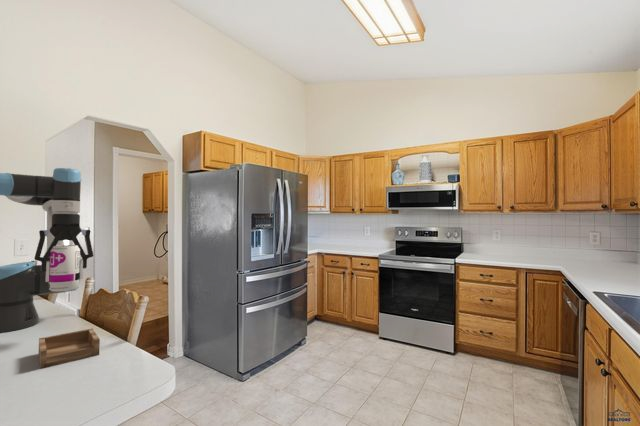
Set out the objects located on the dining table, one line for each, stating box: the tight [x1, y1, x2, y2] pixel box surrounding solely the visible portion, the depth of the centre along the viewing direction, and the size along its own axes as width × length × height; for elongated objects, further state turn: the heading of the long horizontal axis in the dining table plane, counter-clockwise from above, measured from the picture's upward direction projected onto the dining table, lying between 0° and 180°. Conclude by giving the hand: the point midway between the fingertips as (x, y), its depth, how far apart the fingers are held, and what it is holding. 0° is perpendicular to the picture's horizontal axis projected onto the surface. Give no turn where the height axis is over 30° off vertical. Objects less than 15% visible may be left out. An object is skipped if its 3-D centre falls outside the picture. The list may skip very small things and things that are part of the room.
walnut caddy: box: [38, 328, 101, 369], centre depth 93 cm, size 13×13×4 cm
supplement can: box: [48, 244, 81, 292], centre depth 107 cm, size 8×8×15 cm
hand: (64, 279), depth 107 cm, fingers closed on supplement can, 8 cm apart
